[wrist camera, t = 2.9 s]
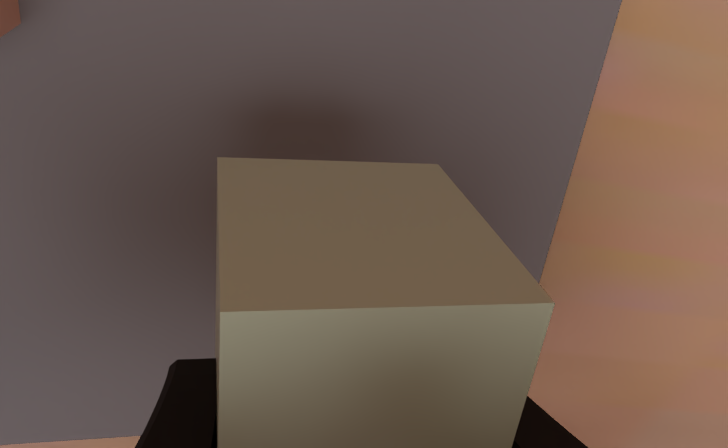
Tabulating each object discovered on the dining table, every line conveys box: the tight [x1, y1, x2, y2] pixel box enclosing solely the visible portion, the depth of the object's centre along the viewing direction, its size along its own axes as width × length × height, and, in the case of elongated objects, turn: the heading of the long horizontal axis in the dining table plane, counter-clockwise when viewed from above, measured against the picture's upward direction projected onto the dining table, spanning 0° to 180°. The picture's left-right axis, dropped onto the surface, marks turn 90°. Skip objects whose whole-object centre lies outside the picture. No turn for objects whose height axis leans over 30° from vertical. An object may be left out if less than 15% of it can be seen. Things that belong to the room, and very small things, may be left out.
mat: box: [0, 0, 622, 445], centre depth 14 cm, size 17×24×1 cm
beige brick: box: [215, 157, 555, 448], centre depth 10 cm, size 7×4×4 cm, turn 173°
